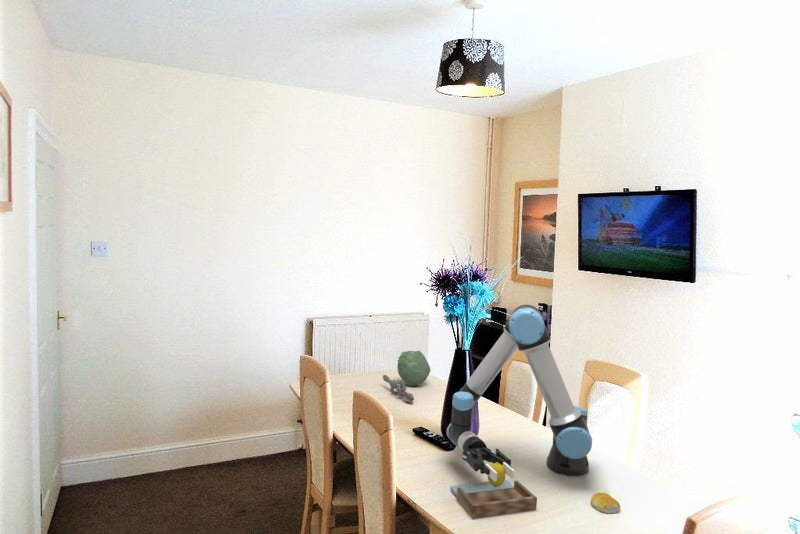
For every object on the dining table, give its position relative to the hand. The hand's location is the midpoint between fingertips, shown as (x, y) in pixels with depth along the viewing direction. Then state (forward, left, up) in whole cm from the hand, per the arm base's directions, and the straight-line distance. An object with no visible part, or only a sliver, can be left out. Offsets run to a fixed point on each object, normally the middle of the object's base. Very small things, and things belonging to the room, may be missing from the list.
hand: (504, 476), depth 166 cm
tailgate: (0, -11, -10) cm, 15 cm away
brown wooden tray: (0, -5, -12) cm, 13 cm away
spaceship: (-4, -121, -12) cm, 122 cm away
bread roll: (-34, +5, -12) cm, 37 cm away
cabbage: (-18, -137, -12) cm, 139 cm away
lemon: (0, -5, -6) cm, 8 cm away
